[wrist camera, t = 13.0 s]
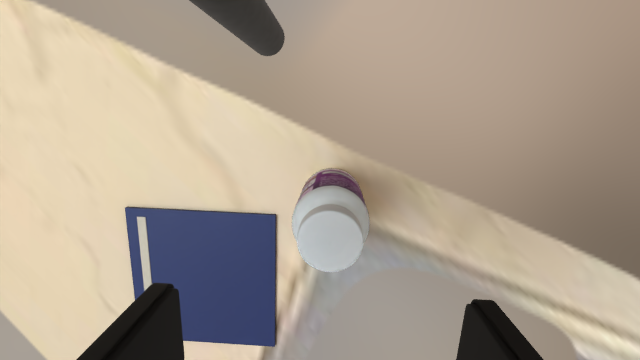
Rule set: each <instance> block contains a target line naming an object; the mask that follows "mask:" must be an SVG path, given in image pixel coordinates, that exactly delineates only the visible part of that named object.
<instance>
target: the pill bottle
mask: <svg viewBox="0 0 640 360" xmlns="http://www.w3.org/2000/svg"><path fill="white" fill-rule="evenodd" d="M369 224H370V221H369V214H368V210H367V208H366V205H365V202H364V199H363V195H362V192H361V189H360V187H359V184H358V183H357V181H356V180H355V179H354V178H353V177H352V176H351V175H350V174H349V173H347V172H345V171H343V170H340V169H334V168H328V169H323V170H320V171H318V172H316V173H315V174H313V175H312V176H311V177H310V178H309V179H308V180H307V182H306V184H305V185H304V188H303V190H302V192H301V194H300V197H299V199H298V202H297V204H296V207H295V209H294V213H293V216H292V230H293V234H294V237H295V239H296V241H297V247H298V250H299V253H300V255H301V256H302V258H303V259H304V260H305V262H306V263H307V264H309V265H310V266H311V267H313V268H315V269H317V270H320V271H324V272H337V271H341V270H344V269H346V268H348V267H350V266H351V265H352V264H353V263H355V262H356V260H357V259H358V258H359V256H360V254H361V252H362V249H363V244H364V242H365V240H366V238H367V236H368V232H369Z"/></svg>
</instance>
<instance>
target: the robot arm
mask: <svg viewBox="0 0 640 360" xmlns="http://www.w3.org/2000/svg"><path fill="white" fill-rule="evenodd" d="M77 360H184V346H183V334H182V322H181V310H180V298H179V291H178V289H176V288H174V286H173V284H170V283H153V284H151V285H150V286H149V287H148V288H147V289H146V290H145V291H144V292H143V293H142V294H141V295H140V296H139V297H138V298H137V299H136V300H135V301H134V302H133V303H132V304H131V305H130V306H129V307H128V308H127V309H126V310H125V311H124V312H123V313H122V314H121V315H120V316H119V317H118V318H117V319H116V320H115V321H114V322H113V323H112V324H111V325H110V326H109V327H108V328H107V329H106V330H105V331H104V332H103V333H102V334H101V335H100V336H99V337H98V338H97V339H96V340H95V341H94V342H93V343H92V345H91V346H90V347H89V348H88V349H87V350H86V351H85V352H84V353H83V354H82V355H81V356H80V357H79V358H78V359H77ZM456 360H543V359H542V357H540V355H539V354H538V353H537V351H536V350H535V349H534V348H533V347H532V346H531V344H530V343H529V342H528V341H527V340H526V338H525V337H524V336H523V335H522V334H521V333H520V331H519V330H518V329H517V328H516V326H515V325H514V324H513V323H512V322H511V320H510V319H509V318H508V317H507V316H506V315H505V313H504V312H503V311H502V310H501V309H500V308H499V306H498V305H497V304H496V303H495V302H494V301H492V300H477V299H474V300H473V301H472V302H471V304H467V306H466V309H465V315H464V320H463V325H462V331H461V336H460V343H459V348H458V354H457V359H456Z"/></svg>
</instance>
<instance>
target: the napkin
mask: <svg viewBox="0 0 640 360" xmlns="http://www.w3.org/2000/svg"><path fill="white" fill-rule="evenodd" d="M125 213H126V222H127V231H128V240H129V249H130V258H131V267H132V276H133V285H134V294H135V300H136V299H137V298H138V297H139V296H140V295H141V294H142V293H143V292H144V291H145V290H146V289H147V288H148V287H149V286H150V285H151V284H153V283H170V284H173V286H174V288H176V289H178V291H179V298H180V310H181V322H182V334H183V341H197V342H213V343H228V344H243V345H258V346H273V347H275V287H276V214H256V213H237V212H217V211H197V210H177V209H158V208H138V207H126V208H125Z"/></svg>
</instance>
